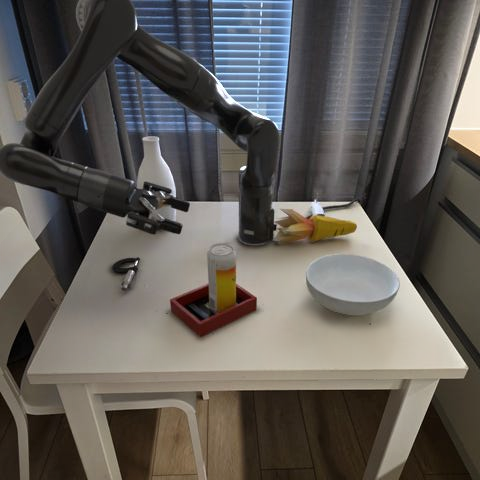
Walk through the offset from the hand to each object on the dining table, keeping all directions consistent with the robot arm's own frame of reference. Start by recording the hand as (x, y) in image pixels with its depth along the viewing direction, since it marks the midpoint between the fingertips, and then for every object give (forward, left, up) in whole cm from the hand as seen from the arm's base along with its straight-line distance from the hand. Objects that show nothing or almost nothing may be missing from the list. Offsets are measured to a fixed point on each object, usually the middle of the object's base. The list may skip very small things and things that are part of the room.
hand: (185, 218), depth 92 cm
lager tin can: (-6, +4, -21) cm, 23 cm away
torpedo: (-49, -32, -21) cm, 62 cm away
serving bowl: (-35, +11, -21) cm, 42 cm away
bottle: (-1, -43, -21) cm, 48 cm away
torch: (-41, -19, -21) cm, 50 cm away
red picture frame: (-4, +5, -21) cm, 22 cm away
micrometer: (+14, -17, -21) cm, 31 cm away
